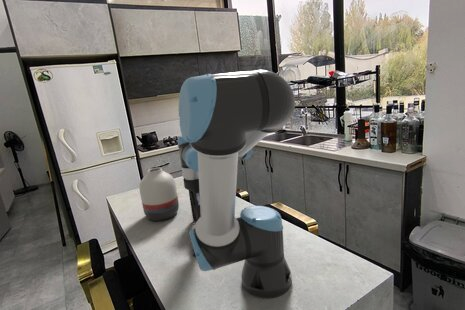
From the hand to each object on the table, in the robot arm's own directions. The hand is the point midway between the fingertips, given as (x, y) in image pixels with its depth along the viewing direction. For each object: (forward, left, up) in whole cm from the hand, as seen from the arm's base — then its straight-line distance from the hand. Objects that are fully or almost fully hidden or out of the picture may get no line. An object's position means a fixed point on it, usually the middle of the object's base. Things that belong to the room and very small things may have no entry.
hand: (201, 234), depth 107 cm
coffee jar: (+21, -5, -5) cm, 22 cm away
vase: (+36, +13, -5) cm, 38 cm away
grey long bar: (+4, +1, -4) cm, 6 cm away
